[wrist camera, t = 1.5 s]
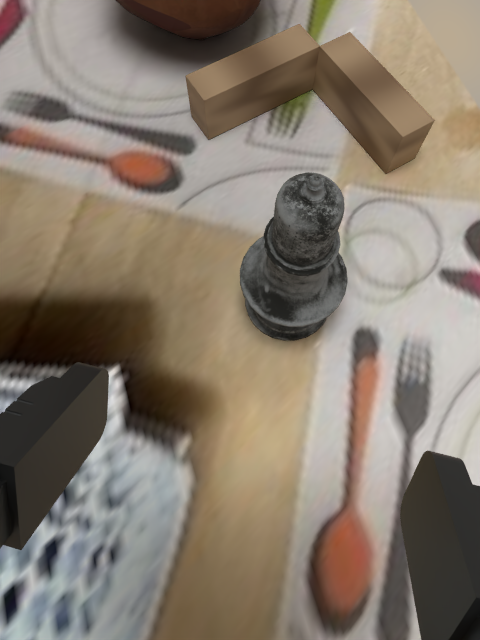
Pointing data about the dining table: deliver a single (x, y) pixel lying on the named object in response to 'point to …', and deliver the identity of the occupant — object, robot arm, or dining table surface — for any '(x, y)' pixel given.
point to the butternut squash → (193, 15)
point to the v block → (325, 79)
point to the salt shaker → (297, 261)
